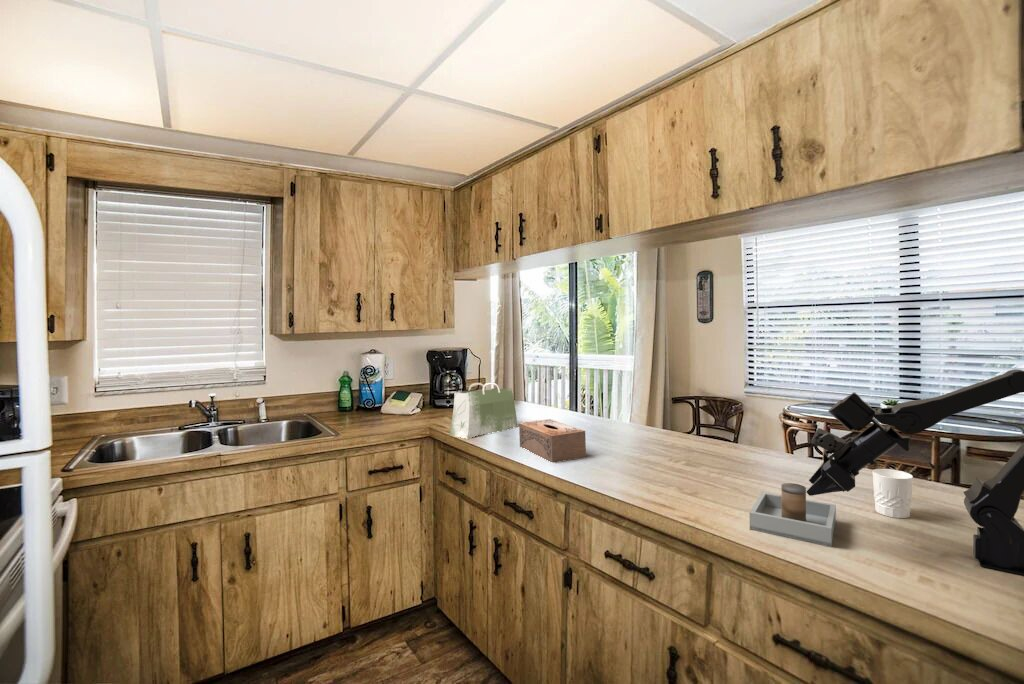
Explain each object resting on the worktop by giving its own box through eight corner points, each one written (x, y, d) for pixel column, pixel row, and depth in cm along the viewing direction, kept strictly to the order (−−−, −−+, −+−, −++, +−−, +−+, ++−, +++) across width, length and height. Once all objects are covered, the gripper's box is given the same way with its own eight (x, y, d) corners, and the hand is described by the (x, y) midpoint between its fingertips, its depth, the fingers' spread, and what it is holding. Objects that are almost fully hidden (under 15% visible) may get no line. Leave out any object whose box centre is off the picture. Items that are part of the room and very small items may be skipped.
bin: (835, 521, 115) (835, 504, 115) (831, 546, 102) (831, 528, 102) (762, 507, 124) (761, 492, 124) (749, 529, 112) (749, 512, 112)
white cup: (894, 506, 123) (894, 468, 122) (921, 518, 115) (921, 478, 114) (864, 507, 122) (864, 469, 122) (890, 520, 114) (890, 479, 114)
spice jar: (810, 523, 112) (810, 488, 112) (797, 528, 110) (797, 491, 109) (790, 515, 116) (790, 481, 116) (776, 520, 114) (776, 485, 114)
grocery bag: (499, 423, 239) (497, 377, 238) (518, 427, 230) (517, 379, 229) (448, 435, 217) (446, 384, 216) (467, 439, 207) (466, 387, 206)
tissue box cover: (585, 457, 175) (585, 430, 175) (552, 463, 169) (551, 435, 169) (550, 442, 199) (550, 419, 198) (519, 447, 192) (519, 423, 192)
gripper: (836, 411, 115) (785, 451, 122) (834, 426, 100) (776, 470, 106) (877, 447, 111) (822, 486, 117) (882, 468, 95) (818, 512, 102)
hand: (809, 487), depth 111 cm, fingers open, 9 cm apart
